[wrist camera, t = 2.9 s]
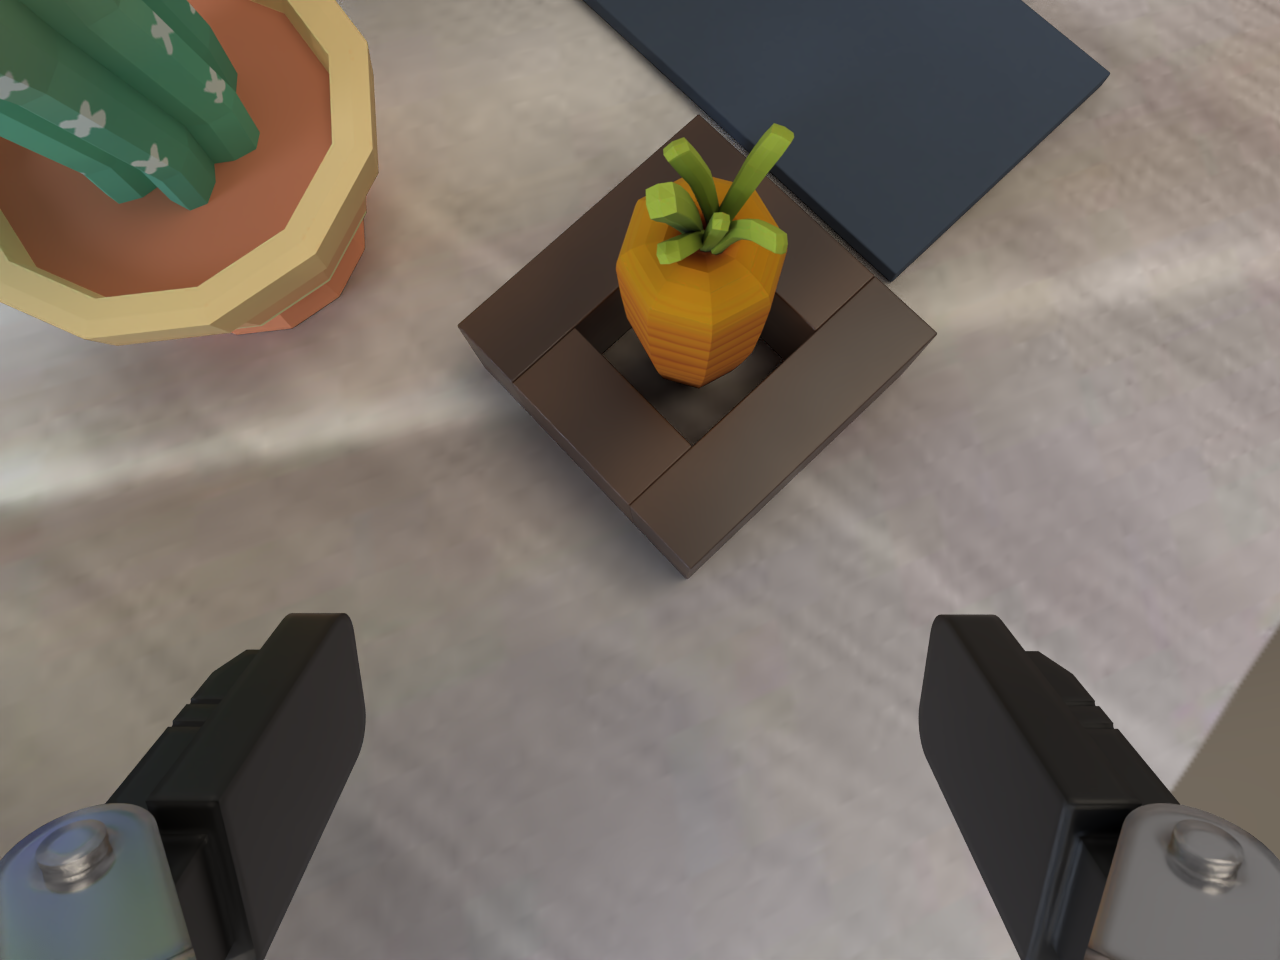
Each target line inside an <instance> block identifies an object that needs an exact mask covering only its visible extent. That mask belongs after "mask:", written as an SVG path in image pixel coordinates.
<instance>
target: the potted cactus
mask: <svg viewBox="0 0 1280 960" xmlns="http://www.w3.org/2000/svg"><path fill="white" fill-rule="evenodd" d="M377 175H378V154H377V135H376V116H375V97H374V77H373V70H372V65H371V60H370V54H369V49H368V44H367V41H366V40H365V39H364V37H363V36H362V35H361V33H360V32H359V31H358V30H357V28H356V27H355V26H354V24H353V23H352V22H351V20H350V19H349V18H348V16H347V15H346V14H345V13H344V11H343V10H342V9H341V7H340V6H339V5H338V3H337V2H336V1H335V0H0V302H1V303H4V304H6V305H8V306H11V307H13V308H15V309H17V310H20V311H22V312H24V313H26V314H29V315H31V316H33V317H35V318H38V319H40V320H42V321H44V322H47V323H49V324H51V325H53V326H56V327H58V328H60V329H62V330H65V331H67V332H69V333H72V334H74V335H76V336H78V337H81V338H83V339H86V340H91V341H96V342H101V343H106V344H111V345H116V346H119V345H128V344H137V343H145V342H154V341H163V340H171V339H180V338H189V337H198V336H206V335H215V334H224V333H231V332H232V333H234V334H236V335H239V334H247V333H256V332H265V331H274V330H282V329H291V328H294V327H295V326H296V325H298V324H299V323H301V322H302V321H304V320H305V319H307V318H308V317H310V316H311V315H313V314H314V313H316V312H317V311H319V310H320V309H322V308H323V307H325V306H326V305H328V304H329V303H331V302H332V301H334V300H335V299H337V298H338V297H339V296H340V294H341V293H342V291H343V289H344V287H345V285H346V283H347V281H348V279H349V278H350V276H351V274H352V272H353V270H354V268H355V266H356V265H357V263H358V261H359V259H360V257H361V255H362V253H363V251H364V250H365V240H364V219H363V218H364V216H365V214H366V195H367V193H368V191H369V189H370V188H371V186H372V184H373V182H374V180H375V178H376V176H377Z"/></svg>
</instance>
